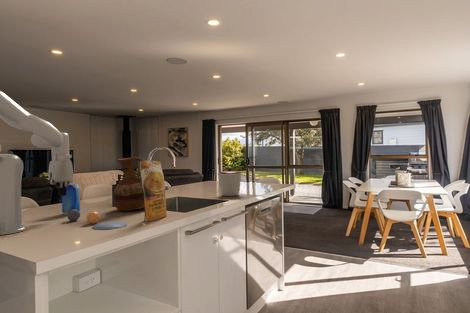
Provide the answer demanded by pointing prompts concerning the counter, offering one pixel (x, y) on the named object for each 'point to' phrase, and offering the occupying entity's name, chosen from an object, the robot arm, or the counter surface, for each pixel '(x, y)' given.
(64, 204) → the blue carton
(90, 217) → the object ball
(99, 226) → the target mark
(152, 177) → the pancake mix bag
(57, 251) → the counter surface
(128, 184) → the ceramic pitcher
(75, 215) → the gray ball
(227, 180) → the canister
